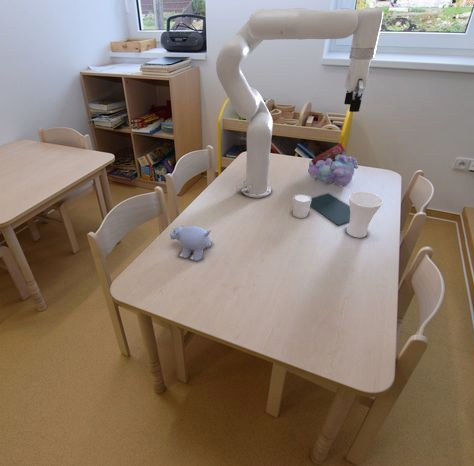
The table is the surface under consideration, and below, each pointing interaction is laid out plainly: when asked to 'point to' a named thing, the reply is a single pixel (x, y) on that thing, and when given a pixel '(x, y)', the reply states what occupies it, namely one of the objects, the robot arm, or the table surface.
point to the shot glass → (301, 205)
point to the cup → (362, 212)
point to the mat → (331, 208)
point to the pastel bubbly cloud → (333, 166)
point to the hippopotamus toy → (192, 240)
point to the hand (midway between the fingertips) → (351, 107)
